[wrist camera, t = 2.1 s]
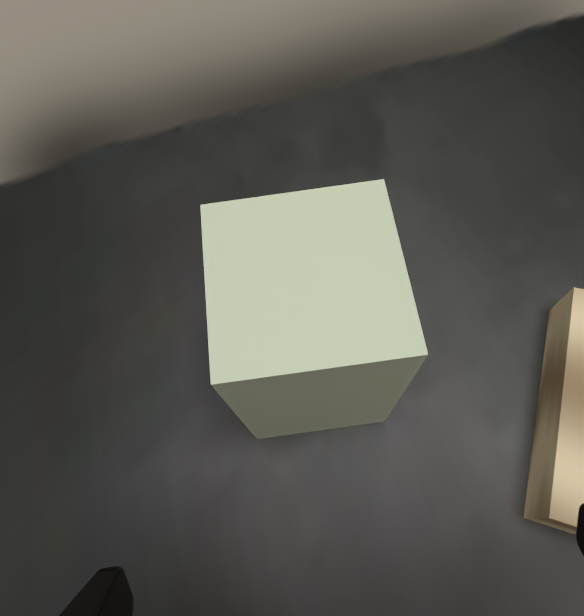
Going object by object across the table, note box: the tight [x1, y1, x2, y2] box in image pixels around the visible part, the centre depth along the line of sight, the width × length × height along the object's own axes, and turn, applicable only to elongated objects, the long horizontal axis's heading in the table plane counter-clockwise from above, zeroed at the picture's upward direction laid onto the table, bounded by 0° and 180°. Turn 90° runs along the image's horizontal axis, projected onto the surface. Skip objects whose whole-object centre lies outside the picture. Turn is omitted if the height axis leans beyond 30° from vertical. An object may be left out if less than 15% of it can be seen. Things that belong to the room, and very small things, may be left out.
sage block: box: [200, 179, 428, 439], centre depth 19 cm, size 6×6×10 cm
